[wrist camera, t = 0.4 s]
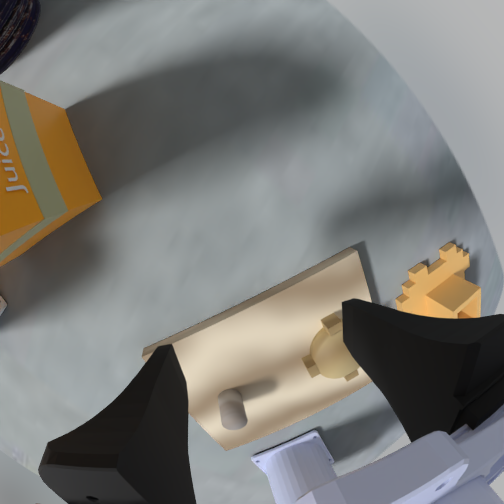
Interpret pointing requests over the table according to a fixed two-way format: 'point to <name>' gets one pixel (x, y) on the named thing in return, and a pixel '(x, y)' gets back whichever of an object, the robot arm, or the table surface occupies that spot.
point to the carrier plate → (273, 354)
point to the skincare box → (2, 305)
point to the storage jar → (16, 28)
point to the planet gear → (441, 288)
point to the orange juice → (37, 171)
